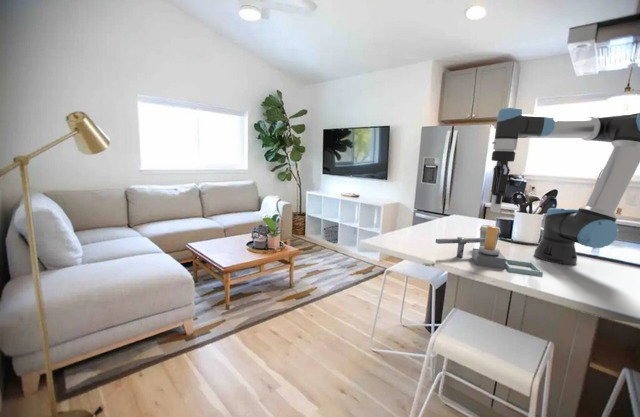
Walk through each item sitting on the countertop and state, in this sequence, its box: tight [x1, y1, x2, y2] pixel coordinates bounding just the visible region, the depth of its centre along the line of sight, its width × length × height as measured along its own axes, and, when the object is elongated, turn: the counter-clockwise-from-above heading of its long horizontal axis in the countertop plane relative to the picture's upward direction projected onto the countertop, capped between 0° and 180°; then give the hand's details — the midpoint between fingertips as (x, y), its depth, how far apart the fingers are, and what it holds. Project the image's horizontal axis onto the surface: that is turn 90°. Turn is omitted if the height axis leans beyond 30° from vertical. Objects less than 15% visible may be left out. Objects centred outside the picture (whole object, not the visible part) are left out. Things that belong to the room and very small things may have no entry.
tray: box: [505, 258, 544, 277], centre depth 117 cm, size 11×11×2 cm
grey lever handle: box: [435, 236, 485, 259], centre depth 127 cm, size 24×4×9 cm, turn 104°
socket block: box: [471, 247, 507, 270], centre depth 123 cm, size 18×11×5 cm, turn 72°
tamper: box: [478, 225, 501, 256], centre depth 121 cm, size 7×7×15 cm
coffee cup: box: [479, 224, 501, 248], centre depth 140 cm, size 9×9×12 cm
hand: (494, 211), depth 118 cm, fingers open, 2 cm apart
